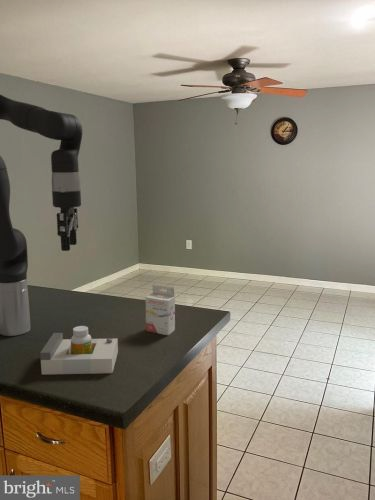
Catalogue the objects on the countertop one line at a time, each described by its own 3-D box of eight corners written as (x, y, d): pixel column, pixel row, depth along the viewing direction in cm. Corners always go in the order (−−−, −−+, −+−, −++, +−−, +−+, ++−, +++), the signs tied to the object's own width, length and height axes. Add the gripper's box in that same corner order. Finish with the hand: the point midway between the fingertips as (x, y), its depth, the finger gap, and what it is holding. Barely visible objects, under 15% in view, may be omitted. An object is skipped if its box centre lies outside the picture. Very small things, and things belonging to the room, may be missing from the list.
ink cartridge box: (145, 331, 137) (144, 287, 134) (152, 326, 141) (152, 283, 138) (168, 335, 133) (168, 291, 130) (175, 330, 138) (175, 287, 135)
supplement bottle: (87, 367, 112) (85, 333, 110) (68, 365, 113) (66, 331, 111) (95, 358, 117) (94, 325, 115) (77, 356, 118) (75, 324, 117)
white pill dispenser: (41, 374, 108) (40, 352, 107) (54, 352, 121) (53, 332, 120) (112, 373, 109) (111, 351, 108) (118, 351, 122) (117, 331, 121)
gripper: (58, 188, 122) (62, 243, 125) (44, 190, 108) (48, 252, 111) (85, 188, 122) (87, 243, 125) (74, 190, 108) (77, 252, 112)
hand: (69, 247), depth 118 cm, fingers open, 8 cm apart
